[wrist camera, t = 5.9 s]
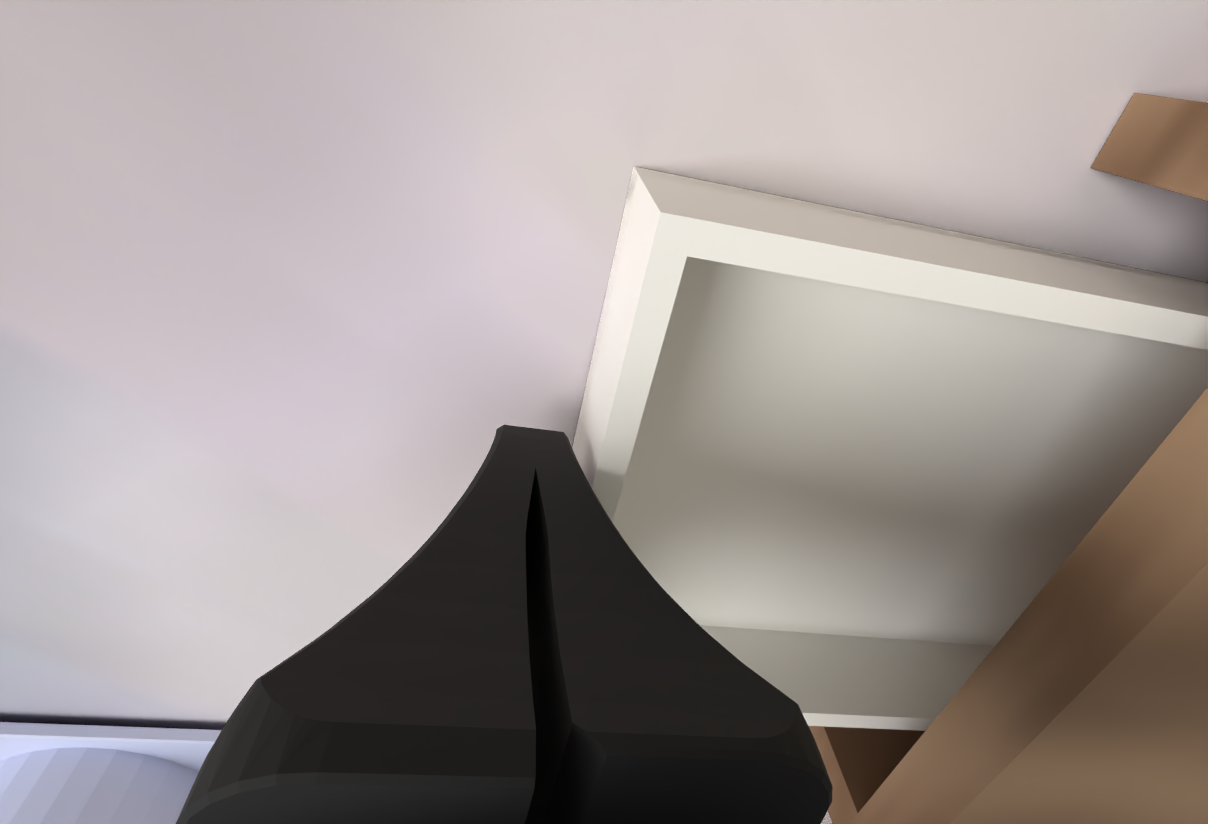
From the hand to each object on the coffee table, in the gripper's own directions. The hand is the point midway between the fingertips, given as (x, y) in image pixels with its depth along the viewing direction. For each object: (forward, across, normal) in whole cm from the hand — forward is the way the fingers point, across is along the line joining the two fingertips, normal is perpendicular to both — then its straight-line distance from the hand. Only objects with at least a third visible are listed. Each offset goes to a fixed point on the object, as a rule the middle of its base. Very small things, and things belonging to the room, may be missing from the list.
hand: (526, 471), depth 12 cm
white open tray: (+1, -8, 0) cm, 9 cm away
